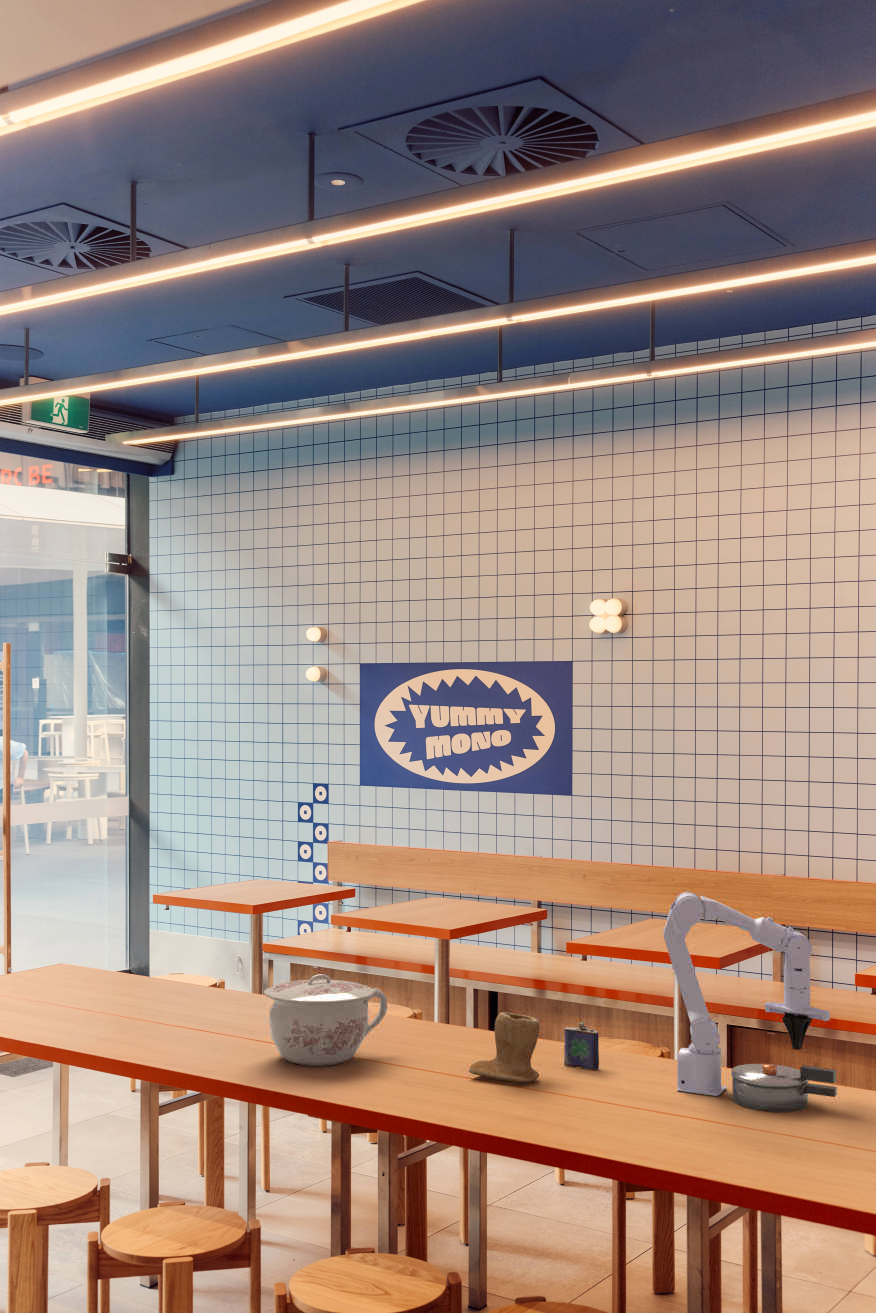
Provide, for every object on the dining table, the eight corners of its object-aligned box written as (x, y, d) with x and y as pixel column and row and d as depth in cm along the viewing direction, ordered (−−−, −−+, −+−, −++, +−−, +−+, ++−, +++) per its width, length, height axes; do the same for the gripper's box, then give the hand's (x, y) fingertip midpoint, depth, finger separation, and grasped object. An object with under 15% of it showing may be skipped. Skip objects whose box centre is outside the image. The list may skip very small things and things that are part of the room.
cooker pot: (724, 1105, 264) (724, 1081, 264) (742, 1088, 278) (742, 1066, 278) (829, 1120, 254) (829, 1095, 254) (842, 1102, 268) (842, 1078, 268)
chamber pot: (242, 1068, 291) (244, 979, 293) (289, 1043, 317) (291, 962, 319) (352, 1078, 283) (353, 987, 284) (390, 1052, 309) (392, 969, 311)
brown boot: (548, 1077, 286) (549, 1012, 287) (525, 1089, 275) (526, 1021, 277) (491, 1068, 293) (492, 1005, 295) (467, 1079, 283) (468, 1013, 285)
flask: (562, 1065, 298) (562, 1020, 299) (568, 1063, 300) (568, 1018, 301) (596, 1071, 292) (596, 1025, 293) (601, 1069, 295) (601, 1023, 296)
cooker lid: (721, 1080, 265) (721, 1064, 265) (744, 1064, 279) (743, 1049, 279) (825, 1095, 254) (825, 1078, 254) (843, 1078, 268) (843, 1063, 268)
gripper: (759, 985, 276) (759, 1046, 275) (821, 993, 267) (821, 1057, 266) (772, 981, 282) (772, 1041, 280) (833, 989, 272) (834, 1051, 271)
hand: (797, 1048), depth 273 cm, fingers closed
